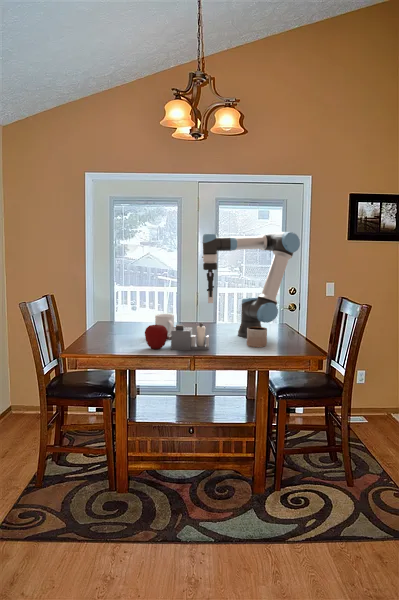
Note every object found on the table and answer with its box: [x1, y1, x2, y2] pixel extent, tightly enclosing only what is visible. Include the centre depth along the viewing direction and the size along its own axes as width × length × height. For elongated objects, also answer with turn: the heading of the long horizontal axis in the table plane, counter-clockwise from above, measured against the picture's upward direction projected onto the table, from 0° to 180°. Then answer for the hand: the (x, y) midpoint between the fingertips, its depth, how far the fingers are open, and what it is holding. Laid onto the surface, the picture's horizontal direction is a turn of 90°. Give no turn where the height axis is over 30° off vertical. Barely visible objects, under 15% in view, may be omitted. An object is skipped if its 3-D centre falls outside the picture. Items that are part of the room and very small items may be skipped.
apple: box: [144, 324, 168, 350], centre depth 248 cm, size 12×12×13 cm
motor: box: [166, 324, 210, 351], centre depth 251 cm, size 22×12×12 cm, turn 87°
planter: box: [246, 326, 268, 348], centre depth 260 cm, size 11×11×10 cm
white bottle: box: [196, 322, 206, 346], centre depth 251 cm, size 4×4×12 cm
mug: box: [154, 313, 175, 336], centre depth 278 cm, size 15×11×13 cm
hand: (210, 301), depth 261 cm, fingers open, 13 cm apart
